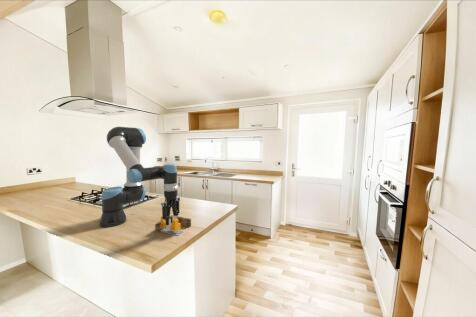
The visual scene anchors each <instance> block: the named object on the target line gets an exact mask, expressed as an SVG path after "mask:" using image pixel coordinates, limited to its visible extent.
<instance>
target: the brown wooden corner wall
mask: <svg viewBox="0 0 476 317" xmlns="http://www.w3.org/2000/svg"><path fill="white" fill-rule="evenodd" d="M172 216H173V214H172V215H170V218H169V219H171V223H172ZM177 219H178V223H181V227H186V228H187V227H188V228H190V227H192V219H191V218H188V217H184V216H179V215H178V216H177ZM154 227H155V230H154V231H155V233H158V232H160V231H162V230H163V229H165V228H161V220H160V221H158V222H156V223H155V225H154Z"/></svg>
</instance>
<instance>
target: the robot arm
mask: <svg viewBox="0 0 476 317" xmlns="http://www.w3.org/2000/svg"><path fill="white" fill-rule="evenodd" d="M146 141H147V135H146V133H145V131H144V130H143V129H141V128H139V127H131V126H130V127H128V126H115V127H112V128H111V129H110V130H108V132H107V135H106V142H107V144H108V145H109V147H111V148H112V149H113V150H114V151H115V153H116V154H117V156H118V157H119V159H120V160H121V162H122V164H123V165H124V166H125V169H126V176H125V177H126V182H125V183H124V184H123V187H122V186H113V187H109V188H105V189H104V190H103V191H102V192H101V197H100V199H101V207H102V208H101V209H102V210H101V211H102V213H101V216H100V219H99V226H100V227H103V228H111V227H117V226H119V225H121V224H125V223H126V222H127V216H126V213H125V210H124V205H128V204H132V203H133V204H134V203H138V202H140V201H143V200H144V199H145V196H146V193H147V191H146V187H145V185H143V182H148V181H154V180H163V197H164V198H165V200H164V202H161V204H160V205H161V215H162V216H161V217H162V219H164V220H165V221H166V230H171V219H169V218H170V216H172V215H173V216H172V222H173V220H174V219H177V216H179V214H180V200H181V198H180V197H177V196H178V170H177V169H178V167H177V164H174V163H165V164H163V166H160V165H155V166H151V167H144V166H143V165H142V164H141V149H142V148H143V145H145V143H146ZM171 209H172V215H171Z"/></svg>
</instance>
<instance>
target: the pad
mask: <svg viewBox="0 0 476 317" xmlns="http://www.w3.org/2000/svg"><path fill="white" fill-rule="evenodd" d="M159 232H160V233H164V234H168V235H172V236H179V235H181V234H182V233H183V231H182V230H177V231H172V230H166V229H165V228H164V229H162V230H160V231H159Z"/></svg>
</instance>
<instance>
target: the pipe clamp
mask: <svg viewBox="0 0 476 317" xmlns="http://www.w3.org/2000/svg"><path fill="white" fill-rule="evenodd" d="M160 221H161V228H164V229H166V221H165V220H164V219H162V216H160ZM181 228H182V225H181V223H178V219H174V220H173V222H172V223H171V230H172V231H177V230H178V231H180V230H181Z"/></svg>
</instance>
